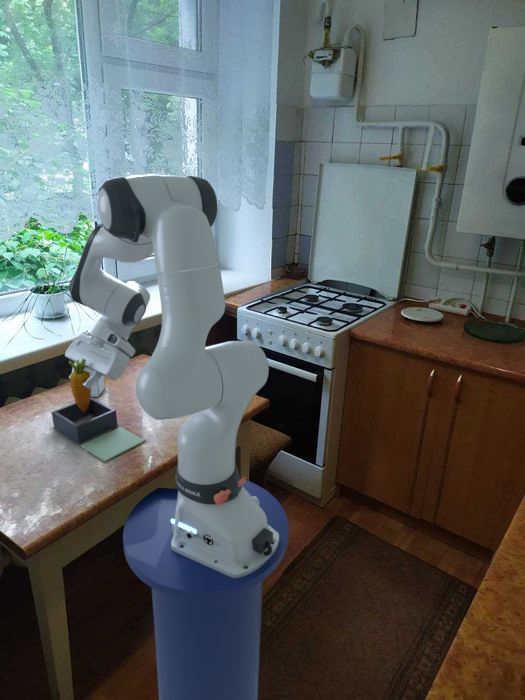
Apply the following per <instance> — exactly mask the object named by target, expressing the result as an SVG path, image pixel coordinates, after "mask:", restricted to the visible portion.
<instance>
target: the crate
mask: <svg viewBox="0 0 525 700" xmlns="http://www.w3.org/2000/svg"><path fill="white" fill-rule="evenodd" d="M91 415H92V416H94V417H93V418H91V419H88V420H86V421H83V422H82V423H79V424H77V423H75V422H76V421H80V420H82V419H84V418H86V417H88V416H91ZM51 416H52V424H53V429H54V430H56V432H57V431H58V433H60V434H62V435H64V436H65V437H67V438H68V439H69V440H72V441H73V442H75V443H76V444H78V445H80V444H81V445H82V443H83V444H84V443H86V442H88V441H90V440H92V439H95V438H97V437H99V436H101V435H103V434H105V433H106V432H107V433H108V432H110V431H112V430H114V429H116V428H118V419H117V410H116V409H115V408H112V407H111V406H109V405H107V404H105V403H103V402H101V401H100V400H98V399H96V398H94V397H90V402H89V405H88V408H87V410H86V411H85V412H83V411H82V410H81V409H80V408H79V406H78V405H77V403H76V402H73V403H71V404H69V405H66V406H63V407H60V408H58V409H56V410H53V411H51Z"/></svg>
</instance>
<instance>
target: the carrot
mask: <svg viewBox="0 0 525 700" xmlns="http://www.w3.org/2000/svg"><path fill="white" fill-rule="evenodd" d="M85 362H86V360H85V359H82V361H81V364H80V363H79V360H76V365H77V366H76V367H75V365H74V361H72V360H69V361H68V364H69V365H70V366H71V367H72V368H74V370H75V372H73V373H72V372H71V373H72V375H71V374H70V375H71V376H70V375H69V376H70V379H69V381H70V387H71V392H72V396H73V399H74V401H75V403H77V405H78V406H79V408H80V409H81V410H82V411H83V412H85V411H86V410H87V408H88V405H89V402H90V397H91V388H90V389H88V388H86V387H84V386H83V385H82V383H83V382H84V380H85V379H88V378H89V377H90V373H88V372H87V371H85V370H84V369H85V368H86V365H84V364H85Z"/></svg>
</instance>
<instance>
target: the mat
mask: <svg viewBox="0 0 525 700" xmlns="http://www.w3.org/2000/svg"><path fill="white" fill-rule="evenodd" d="M144 442H146V441H145V439H144V438H142V437H140V436H139V435H137V434H135V433H133V432H131V431H129V430H128V429H127V428H125V427H122V426H119V427H116V428H114V429H111V430H109V431H107V433H106V432H105V433H103V434H101V435H99V436H96V437H94V438H92V439H90V440H88V441H86V442H84V443H83V444H82V443H81V445H80V448H82V449H84V450H86V451H87V452H88V453H90V454H92V455H93V456H95V457H96V458H98V459H100V460H101V461H103V462H104V463H105V462H107V461H110V460H112V459H113V458H115V457H118V456H120V455H121V454H123V453H125V452H127V451H129V450H132V449H133V448H135V447H136V446H139V445H141V444H143V443H144Z"/></svg>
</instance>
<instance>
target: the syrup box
mask: <svg viewBox="0 0 525 700" xmlns="http://www.w3.org/2000/svg"><path fill="white" fill-rule="evenodd" d="M84 370H85V371H87V372H88V373H90V376H92V374H91V373H92V372H93V370H91V369H89V368H85V369H84ZM105 389H106V383H105V376H103V375H102V377H101V378H100V379H99V380H98V381H96V382H95V383H93V385H92V386H91V397H92V398H94V397H97V398H99V397H100V396H101V394H102V393H103V392H104V390H105Z"/></svg>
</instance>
